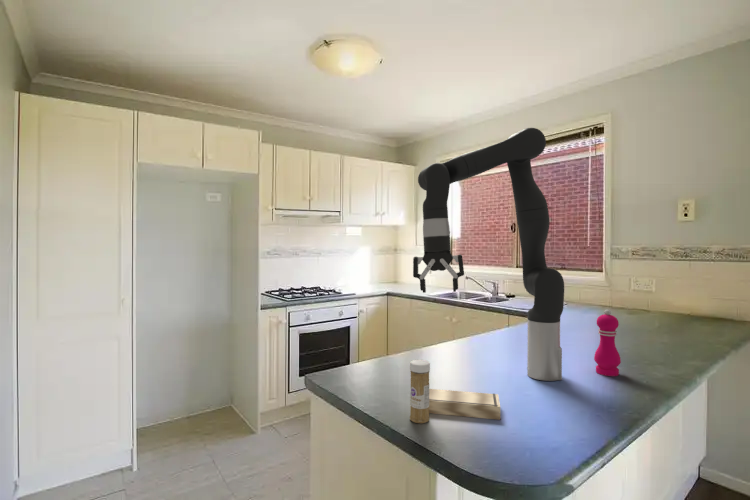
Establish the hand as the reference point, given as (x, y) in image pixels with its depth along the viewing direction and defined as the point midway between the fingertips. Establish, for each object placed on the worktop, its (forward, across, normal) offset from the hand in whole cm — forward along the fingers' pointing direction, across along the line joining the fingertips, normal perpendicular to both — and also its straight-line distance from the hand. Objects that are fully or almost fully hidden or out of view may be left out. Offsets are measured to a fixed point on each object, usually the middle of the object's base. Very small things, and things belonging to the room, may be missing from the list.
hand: (439, 292), depth 115 cm
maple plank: (+27, +4, -16) cm, 31 cm away
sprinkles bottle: (+27, -5, -24) cm, 36 cm away
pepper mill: (+30, +49, +22) cm, 62 cm away
